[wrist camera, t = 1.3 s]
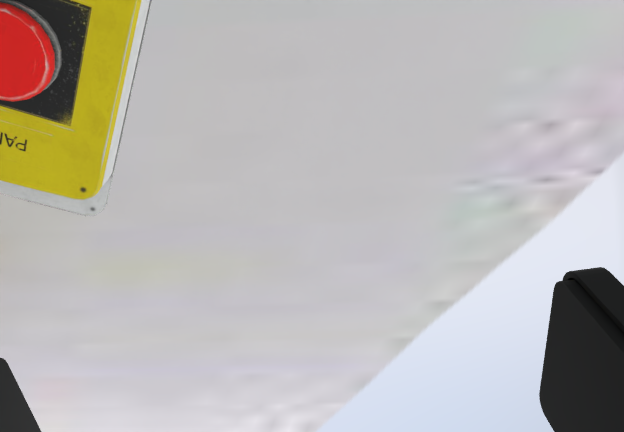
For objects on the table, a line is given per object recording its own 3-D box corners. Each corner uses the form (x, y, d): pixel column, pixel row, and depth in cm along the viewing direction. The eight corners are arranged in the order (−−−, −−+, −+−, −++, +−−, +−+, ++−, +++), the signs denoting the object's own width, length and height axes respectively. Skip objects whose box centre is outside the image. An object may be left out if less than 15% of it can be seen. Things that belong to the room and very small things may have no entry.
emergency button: (153, -73, 20) (83, 257, 26) (170, -74, 24) (106, 215, 30) (-133, -185, 18) (-134, 205, 24) (-63, -165, 22) (-80, 166, 28)
